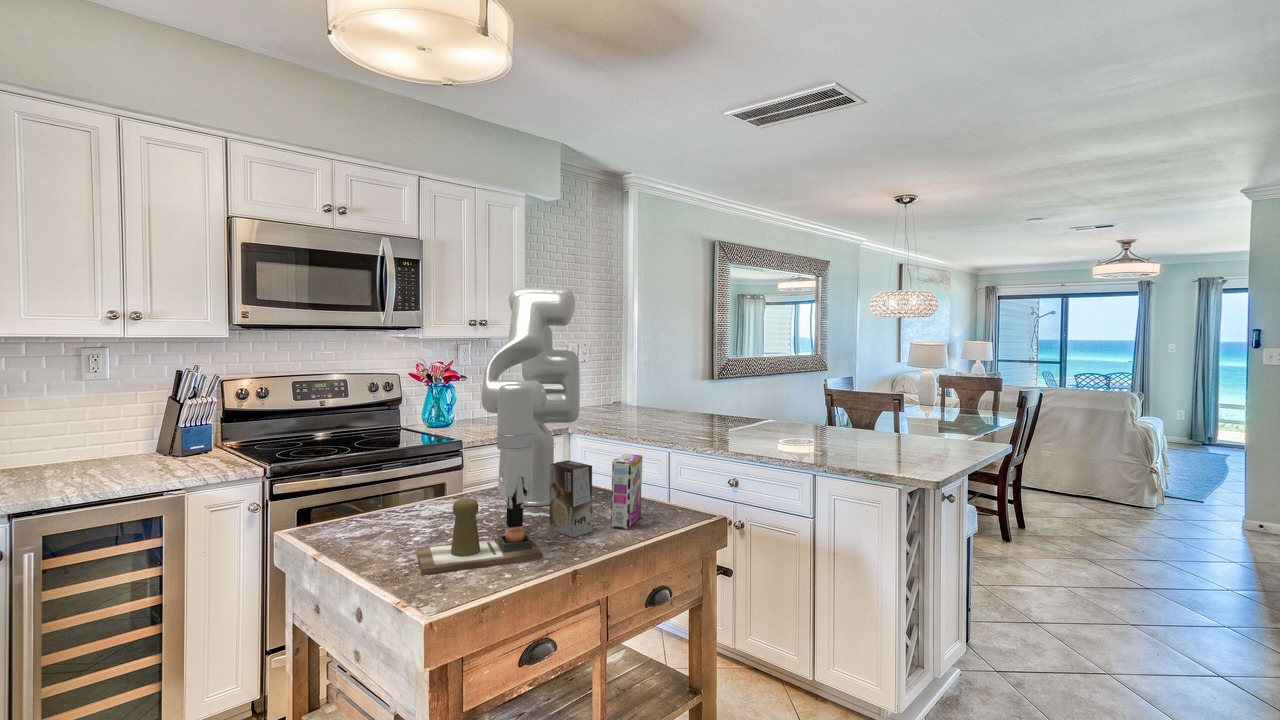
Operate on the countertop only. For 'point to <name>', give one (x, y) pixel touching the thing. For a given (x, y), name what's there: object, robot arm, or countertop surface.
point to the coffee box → (571, 498)
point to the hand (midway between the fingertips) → (514, 525)
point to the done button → (514, 534)
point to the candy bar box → (626, 491)
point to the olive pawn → (465, 528)
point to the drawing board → (477, 555)
